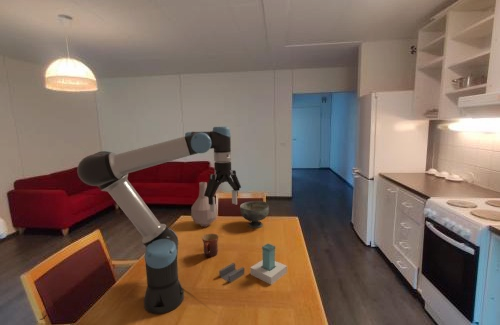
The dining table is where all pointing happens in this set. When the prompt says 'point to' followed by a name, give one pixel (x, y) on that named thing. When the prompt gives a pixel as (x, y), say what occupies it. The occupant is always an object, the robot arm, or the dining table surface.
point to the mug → (210, 245)
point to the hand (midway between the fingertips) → (224, 207)
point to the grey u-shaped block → (231, 273)
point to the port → (268, 272)
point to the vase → (203, 208)
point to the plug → (268, 257)
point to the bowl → (254, 212)
